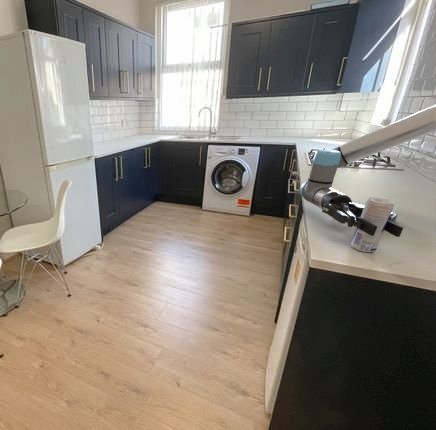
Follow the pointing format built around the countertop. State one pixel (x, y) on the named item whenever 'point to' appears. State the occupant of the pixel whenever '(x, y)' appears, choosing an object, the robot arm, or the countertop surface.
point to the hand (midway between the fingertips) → (386, 231)
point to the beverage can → (378, 215)
